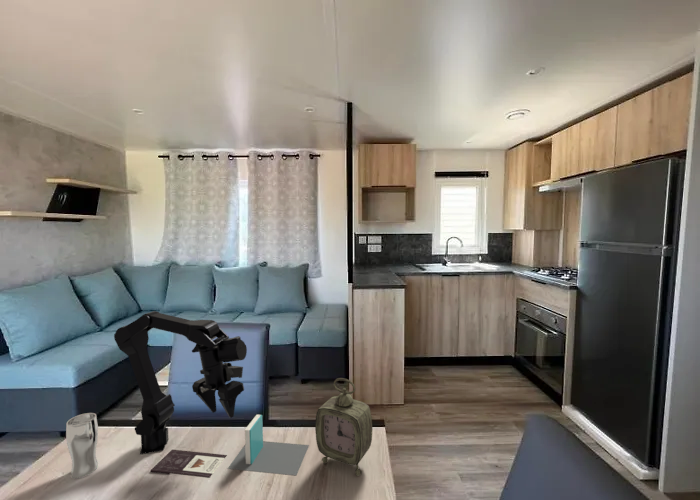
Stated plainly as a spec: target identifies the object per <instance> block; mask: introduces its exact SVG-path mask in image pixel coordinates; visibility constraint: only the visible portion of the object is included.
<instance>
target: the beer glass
mask: <svg viewBox="0 0 700 500" xmlns="http://www.w3.org/2000/svg"><path fill="white" fill-rule="evenodd" d="M97 418H98V417H97V413H94V412H87V413H82V414H78V415H76V416H73V417H72V418H70V419H68V421H67V422H66V429H65V431H66V432H65V437H66V438H65V441H66V446H67V449H68V453H69V455H70V459H71V460H70V461H71V470H70V477H71V478H72V479H80V478H85V477H87V476H89V475H92V474H93V473H94V472H96V471H97V470H98V467H99V463H98V459H97V446H98V439H99V425H98V419H97Z"/></svg>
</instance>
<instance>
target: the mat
mask: <svg viewBox="0 0 700 500" xmlns="http://www.w3.org/2000/svg"><path fill="white" fill-rule="evenodd" d="M309 447H310V445H309V444H301V443H291V442H290V443H289V442H288V443H287V442H280V441H279V442H277V441H276V442H275V441H266V440H263V447H262V449H261V451H260V452H259V454H258V455H257V457H256V458H255V460H254V462H253V463H252V464H246V452H245V444H244V445H243V446H242V448H241V450H240V451H239V452H238V453H237V454H236V456H235V458H234V459H233V460H232V462H231V463H230V465H229V466H228V467H227V469H228V470H234V471H235V470H237V471H244V472H245V471H247V472H258V473H266V474H276V475H285V476H287V475H288V476H297V475H298V473H299V470H300V468H301V466H302V463H303V461H304V458H305V457H306V454H307V451H308V449H309Z"/></svg>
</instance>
